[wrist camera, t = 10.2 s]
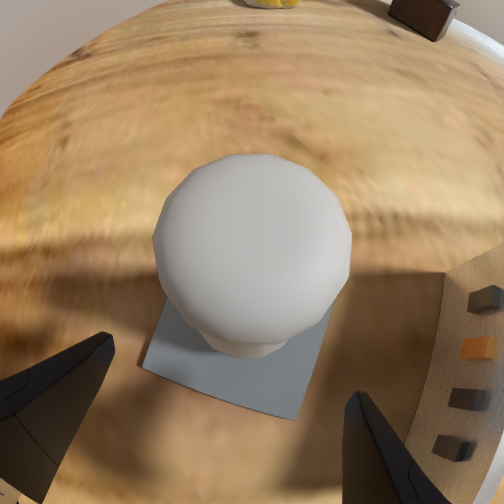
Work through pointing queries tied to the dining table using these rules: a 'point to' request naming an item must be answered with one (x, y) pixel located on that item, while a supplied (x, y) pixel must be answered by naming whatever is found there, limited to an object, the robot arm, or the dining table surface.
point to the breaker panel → (465, 386)
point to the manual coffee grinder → (425, 16)
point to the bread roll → (273, 3)
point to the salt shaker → (252, 252)
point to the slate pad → (236, 366)
